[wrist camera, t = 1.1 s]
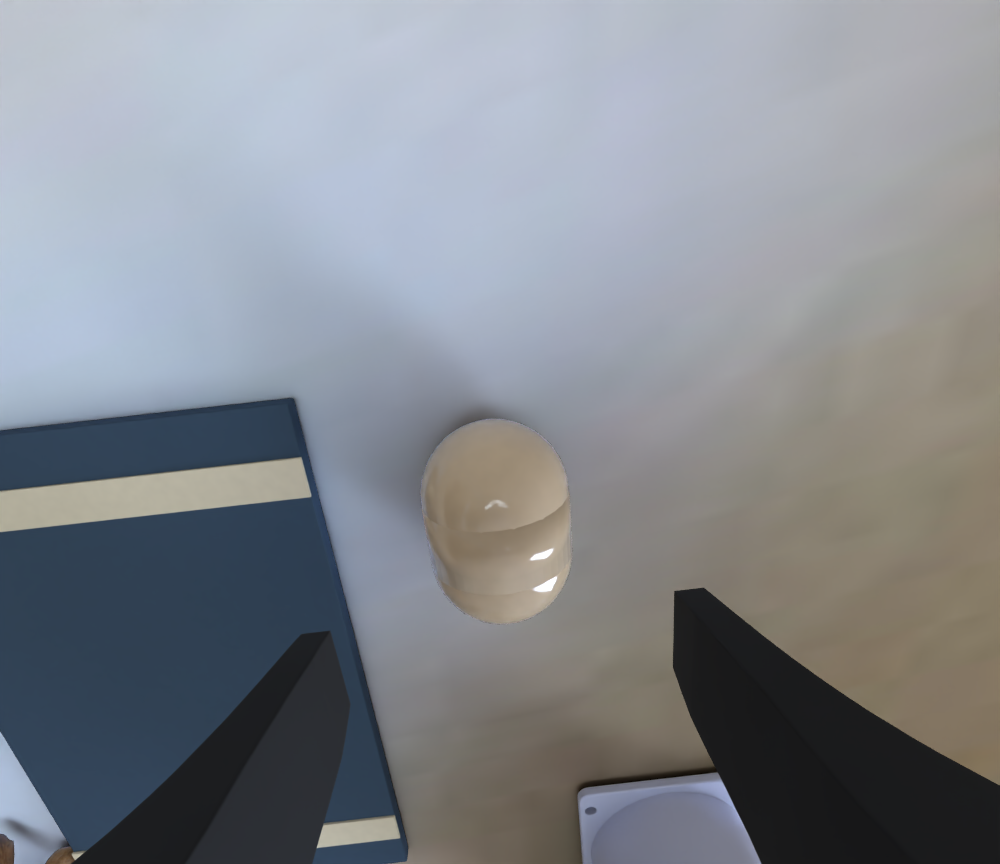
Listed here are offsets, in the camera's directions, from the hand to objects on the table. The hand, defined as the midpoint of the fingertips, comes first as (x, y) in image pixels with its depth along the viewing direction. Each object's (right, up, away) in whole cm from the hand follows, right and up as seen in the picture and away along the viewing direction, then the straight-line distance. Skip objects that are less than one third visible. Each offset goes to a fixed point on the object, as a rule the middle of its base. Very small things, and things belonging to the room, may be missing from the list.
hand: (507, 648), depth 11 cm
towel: (-13, -5, +9) cm, 17 cm away
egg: (0, +3, +7) cm, 8 cm away
